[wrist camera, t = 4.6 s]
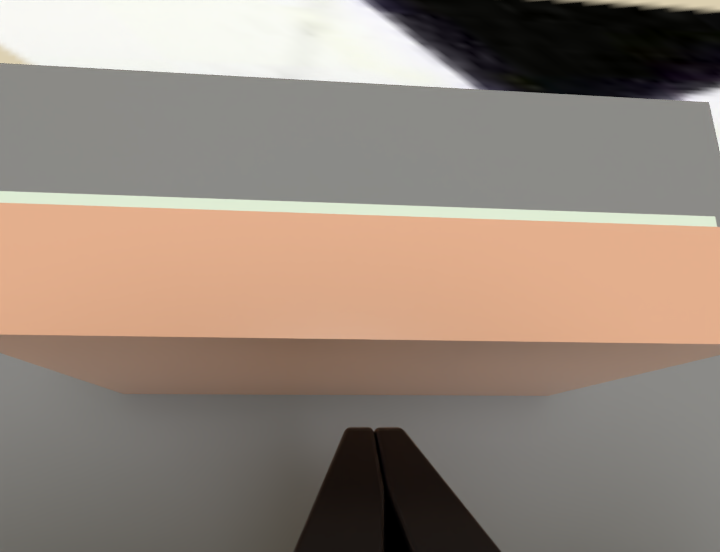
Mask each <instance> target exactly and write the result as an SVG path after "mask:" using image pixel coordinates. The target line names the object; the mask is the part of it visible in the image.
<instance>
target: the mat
mask: <svg viewBox="0 0 720 552" xmlns="http://www.w3.org/2000/svg"><path fill="white" fill-rule="evenodd" d="M0 191H14V192H42V193H70V194H98V195H126V196H154V197H182V198H211V199H239V200H267V201H295V202H323V203H351V204H379V205H408V206H436V207H464V208H492V209H520V210H548V211H576V212H605V213H633V214H661V215H689V216H715V218H716V223H717V227H720V151H719V147H718V142H717V138H716V133H715V128H714V124H713V119H712V115H711V110H710V105H709V102H693V101H675V100H657V99H639V98H621V97H603V96H584V95H566V94H548V93H530V92H512V91H494V90H476V89H458V88H440V87H421V86H403V85H385V84H367V83H349V82H331V81H313V80H295V79H276V78H258V77H240V76H222V75H204V74H186V73H168V72H150V71H132V70H113V69H95V68H77V67H59V66H41V65H23V64H4V63H0ZM348 427H370V428H372V429H373V431H374V430H375V429H376V428H378V427H400V428H402V429H403V430H404V431H405V432H406V433H407V434H408V436H409V437H410V438H411V439H412V441H413V442H414V443H415V444H416V446H417V447H418V448H419V449H420V451H421V452H422V453H423V454H424V456H425V457H426V458H427V459H428V461H429V462H430V463H431V464H432V466H433V467H434V468H435V469H436V471H437V472H438V473H439V474H440V476H441V477H442V478H443V479H444V481H445V482H446V483H447V484H448V486H449V487H450V488H451V489H452V490H453V492H454V493H455V494H456V495H457V497H458V498H459V499H460V500H461V502H462V503H463V504H464V505H465V507H466V508H467V509H468V510H469V512H470V513H471V514H472V515H473V517H474V518H475V519H476V520H477V522H478V523H479V524H480V525H481V527H482V528H483V529H484V530H485V532H486V533H487V534H488V535H489V537H490V538H491V539H492V540H493V542H494V543H495V544H496V545H497V547H498V548H499V549H500V550H501V552H720V355H718V356H714V357H709V358H705V359H701V360H697V361H692V362H688V363H684V364H680V365H676V366H671V367H667V368H663V369H659V370H655V371H650V372H646V373H642V374H638V375H634V376H629V377H625V378H621V379H617V380H612V381H608V382H604V383H600V384H596V385H591V386H587V387H583V388H579V389H575V390H570V391H566V392H562V393H558V394H554V395H549V396H464V395H236V394H122V393H119V392H116V391H113V390H110V389H107V388H104V387H101V386H98V385H95V384H92V383H89V382H86V381H83V380H80V379H77V378H74V377H71V376H68V375H65V374H62V373H59V372H56V371H53V370H50V369H47V368H44V367H41V366H38V365H35V364H32V363H29V362H26V361H23V360H20V359H17V358H14V357H11V356H8V355H5V354H2V353H0V552H293V550H294V548H295V546H296V543H297V541H298V539H299V536H300V534H301V532H302V529H303V527H304V525H305V522H306V520H307V518H308V515H309V513H310V511H311V508H312V506H313V503H314V501H315V499H316V496H317V494H318V492H319V489H320V487H321V485H322V482H323V480H324V478H325V475H326V473H327V471H328V468H329V466H330V463H331V461H332V459H333V456H334V454H335V452H336V449H337V447H338V445H339V442H340V440H341V438H342V435H343V433H344V431H345V430H346V429H347V428H348Z"/></svg>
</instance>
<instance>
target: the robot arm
mask: <svg viewBox="0 0 720 552" xmlns="http://www.w3.org/2000/svg"><path fill="white" fill-rule="evenodd" d="M293 552H501V550H500V549H499V548H498V547H497V545H496V544H495V543H494V542H493V540H492V539H491V538H490V537H489V535H488V534H487V533H486V532H485V530H484V529H483V528H482V527H481V525H480V524H479V523H478V522H477V520H476V519H475V518H474V517H473V515H472V514H471V513H470V512H469V510H468V509H467V508H466V507H465V505H464V504H463V503H462V502H461V500H460V499H459V498H458V497H457V495H456V494H455V493H454V492H453V490H452V489H451V488H450V487H449V486H448V484H447V483H446V482H445V481H444V479H443V478H442V477H441V476H440V474H439V473H438V472H437V471H436V469H435V468H434V467H433V466H432V464H431V463H430V462H429V461H428V459H427V458H426V457H425V456H424V454H423V453H422V452H421V451H420V449H419V448H418V447H417V446H416V444H415V443H414V442H413V441H412V439H411V438H410V437H409V436H408V434H407V433H406V432H405V431H404V430H403V429H402V428H400V427H378V428H376V429H375V430H374V431H373V429H372V428H370V427H348V428H347V429H346V430H345V431H344V433H343V435H342V438H341V440H340V442H339V445H338V447H337V449H336V452H335V454H334V456H333V459H332V461H331V463H330V466H329V468H328V471H327V473H326V475H325V478H324V480H323V482H322V485H321V487H320V489H319V492H318V494H317V496H316V499H315V501H314V503H313V506H312V508H311V511H310V513H309V515H308V518H307V520H306V522H305V525H304V527H303V529H302V532H301V534H300V536H299V539H298V541H297V543H296V546H295V548H294V550H293Z"/></svg>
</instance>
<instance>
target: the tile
mask: <svg viewBox="0 0 720 552" xmlns="http://www.w3.org/2000/svg"><path fill="white" fill-rule="evenodd" d="M0 353H2V354H5V355H8V356H11V357H14V358H17V359H20V360H23V361H26V362H29V363H32V364H35V365H38V366H41V367H44V368H47V369H50V370H53V371H56V372H59V373H62V374H65V375H68V376H71V377H74V378H77V379H80V380H83V381H86V382H89V383H92V384H95V385H98V386H101V387H104V388H107V389H110V390H113V391H116V392H119V393H122V394H236V395H464V396H549V395H554V394H558V393H562V392H566V391H570V390H575V389H579V388H583V387H587V386H591V385H596V384H600V383H604V382H608V381H612V380H617V379H621V378H625V377H629V376H634V375H638V374H642V373H646V372H650V371H655V370H659V369H663V368H667V367H671V366H676V365H680V364H684V363H688V362H692V361H697V360H701V359H705V358H709V357H714V356H718V355H720V227H717V223H716V218H715V216H689V215H661V214H633V213H605V212H576V211H548V210H520V209H492V208H464V207H436V206H408V205H379V204H351V203H323V202H295V201H267V200H239V199H211V198H182V197H154V196H126V195H98V194H70V193H42V192H14V191H0Z"/></svg>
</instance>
